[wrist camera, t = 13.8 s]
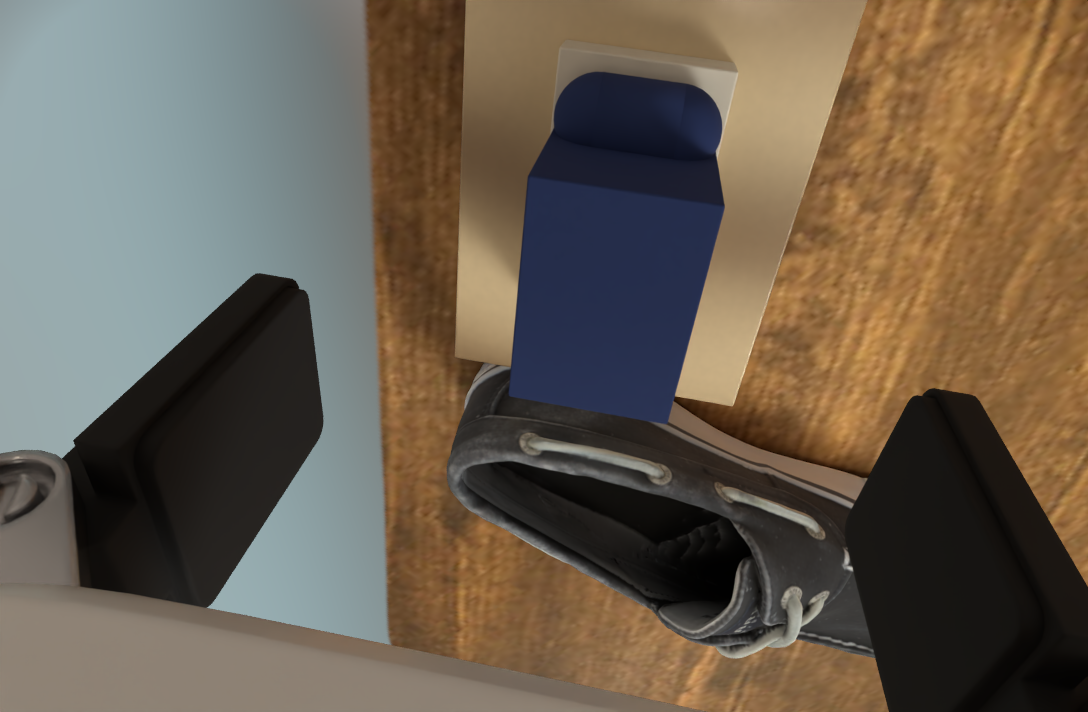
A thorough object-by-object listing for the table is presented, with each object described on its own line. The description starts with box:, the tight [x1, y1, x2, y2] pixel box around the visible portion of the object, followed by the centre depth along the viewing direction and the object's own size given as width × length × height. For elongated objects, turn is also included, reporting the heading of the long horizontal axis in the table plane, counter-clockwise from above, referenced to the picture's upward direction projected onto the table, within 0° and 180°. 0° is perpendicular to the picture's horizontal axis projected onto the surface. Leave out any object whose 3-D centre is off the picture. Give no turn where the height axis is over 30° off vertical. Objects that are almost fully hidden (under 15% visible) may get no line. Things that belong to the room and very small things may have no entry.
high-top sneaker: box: [508, 40, 738, 424], centre depth 18 cm, size 8×4×6 cm, turn 174°
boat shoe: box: [447, 363, 875, 658], centre depth 27 cm, size 24×9×8 cm, turn 59°
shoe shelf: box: [455, 0, 868, 406], centre depth 22 cm, size 14×10×4 cm
